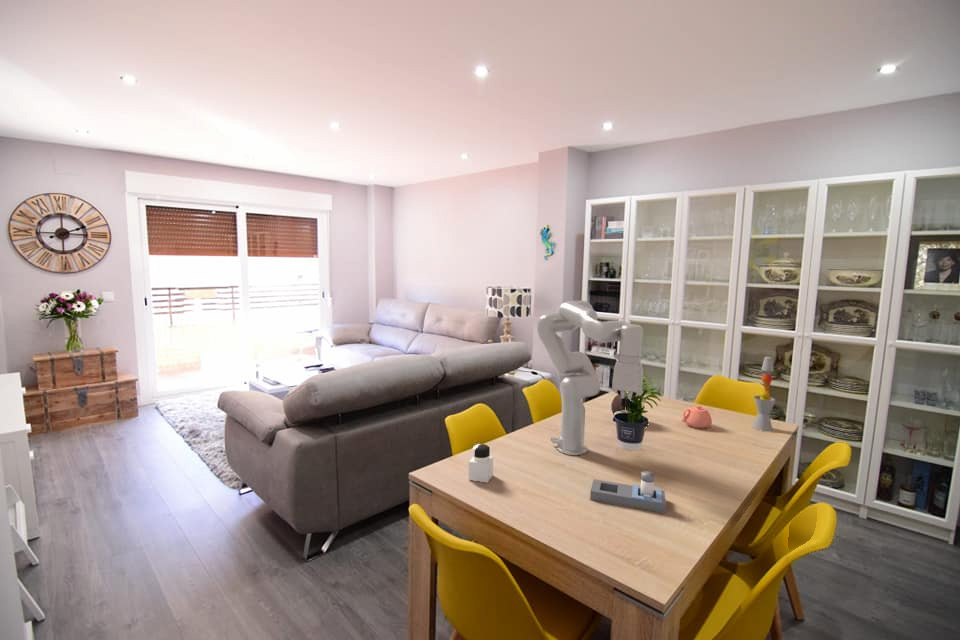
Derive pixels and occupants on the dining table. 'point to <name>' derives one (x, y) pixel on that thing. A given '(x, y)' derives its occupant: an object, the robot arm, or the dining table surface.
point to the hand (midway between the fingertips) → (625, 408)
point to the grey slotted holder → (627, 495)
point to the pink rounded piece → (697, 417)
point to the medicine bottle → (481, 464)
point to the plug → (647, 483)
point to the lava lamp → (764, 400)
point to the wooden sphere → (617, 404)
